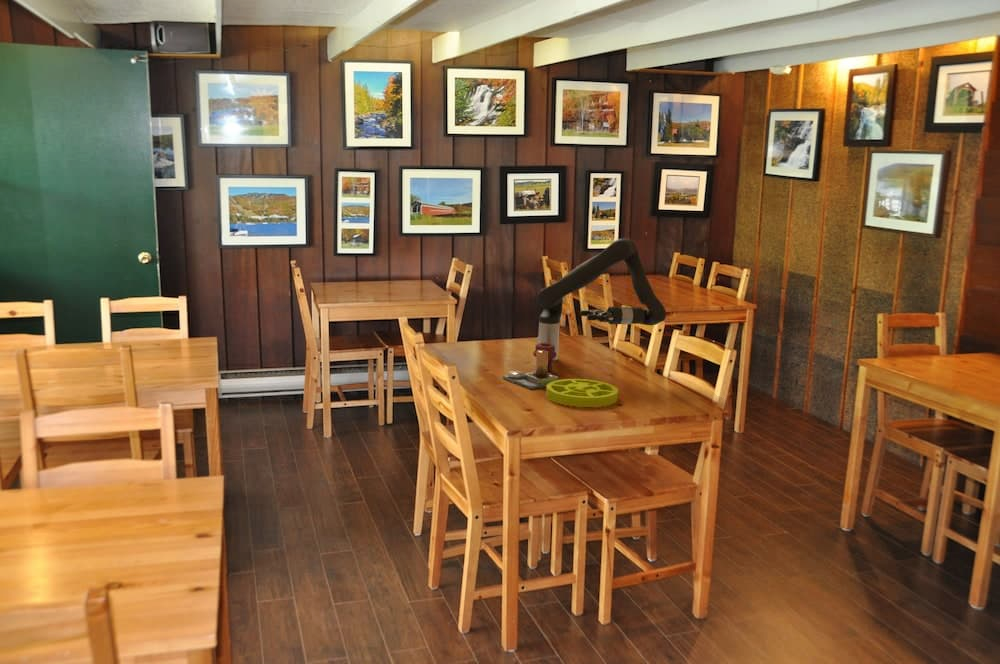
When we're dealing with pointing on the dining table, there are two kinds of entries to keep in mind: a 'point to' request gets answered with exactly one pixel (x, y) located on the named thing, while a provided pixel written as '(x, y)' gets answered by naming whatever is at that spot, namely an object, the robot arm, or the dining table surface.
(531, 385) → the carrier plate
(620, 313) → the robot arm
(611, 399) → the pulley
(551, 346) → the mechanical component
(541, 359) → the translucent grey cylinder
